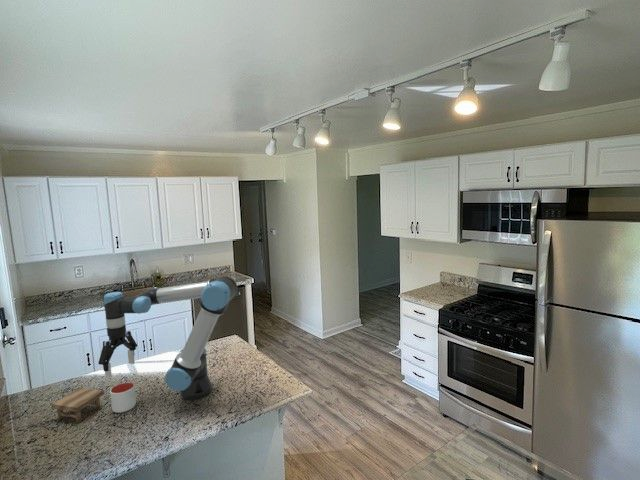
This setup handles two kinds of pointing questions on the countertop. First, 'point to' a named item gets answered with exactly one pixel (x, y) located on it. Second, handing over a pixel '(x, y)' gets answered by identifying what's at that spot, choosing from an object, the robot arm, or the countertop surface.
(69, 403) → the stool
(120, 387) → the cup
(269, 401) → the countertop surface
